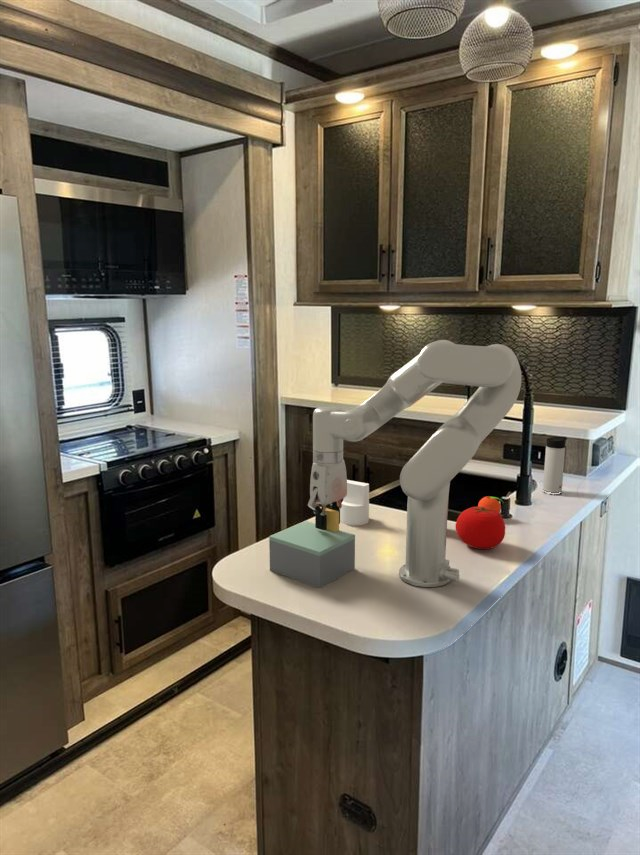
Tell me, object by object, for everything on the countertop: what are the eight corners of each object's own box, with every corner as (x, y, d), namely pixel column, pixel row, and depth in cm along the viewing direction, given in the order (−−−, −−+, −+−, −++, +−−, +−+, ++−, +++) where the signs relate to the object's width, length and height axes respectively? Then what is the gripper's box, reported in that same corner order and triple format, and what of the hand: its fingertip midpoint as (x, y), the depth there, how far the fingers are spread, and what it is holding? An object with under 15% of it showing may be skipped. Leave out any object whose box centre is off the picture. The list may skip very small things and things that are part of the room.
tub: (354, 568, 155) (355, 538, 154) (319, 588, 145) (319, 556, 143) (305, 553, 165) (305, 524, 164) (269, 570, 155) (269, 539, 153)
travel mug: (565, 495, 215) (569, 439, 211) (546, 495, 215) (550, 439, 212) (558, 490, 221) (563, 435, 218) (540, 490, 222) (544, 435, 218)
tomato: (497, 558, 162) (499, 518, 160) (449, 547, 169) (451, 509, 167) (510, 543, 172) (512, 505, 170) (464, 534, 179) (466, 497, 177)
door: (355, 542, 154) (355, 515, 153) (319, 560, 143) (319, 531, 142) (305, 528, 164) (305, 502, 163) (269, 543, 153) (268, 516, 152)
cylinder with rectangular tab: (333, 521, 189) (334, 483, 187) (349, 513, 197) (349, 477, 194) (359, 527, 184) (359, 488, 182) (374, 518, 192) (374, 481, 189)
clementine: (502, 515, 195) (503, 493, 194) (505, 522, 188) (506, 500, 187) (476, 513, 196) (477, 492, 195) (478, 521, 190) (479, 499, 188)
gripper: (318, 465, 146) (318, 539, 149) (360, 452, 159) (359, 520, 162) (294, 460, 150) (294, 531, 154) (336, 448, 163) (336, 514, 167)
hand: (327, 525), depth 158 cm, fingers open, 4 cm apart
